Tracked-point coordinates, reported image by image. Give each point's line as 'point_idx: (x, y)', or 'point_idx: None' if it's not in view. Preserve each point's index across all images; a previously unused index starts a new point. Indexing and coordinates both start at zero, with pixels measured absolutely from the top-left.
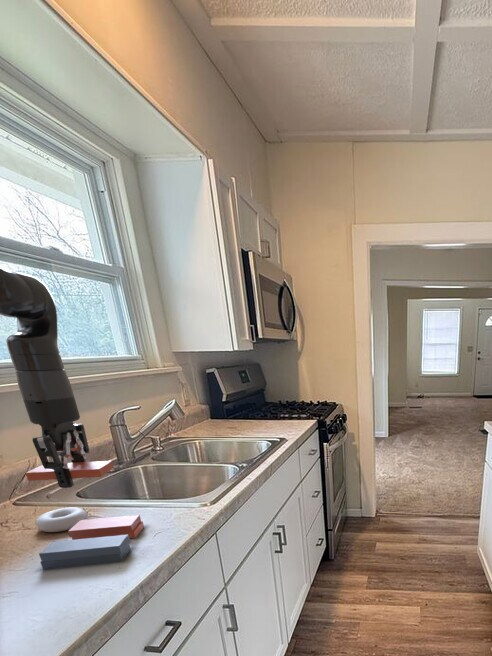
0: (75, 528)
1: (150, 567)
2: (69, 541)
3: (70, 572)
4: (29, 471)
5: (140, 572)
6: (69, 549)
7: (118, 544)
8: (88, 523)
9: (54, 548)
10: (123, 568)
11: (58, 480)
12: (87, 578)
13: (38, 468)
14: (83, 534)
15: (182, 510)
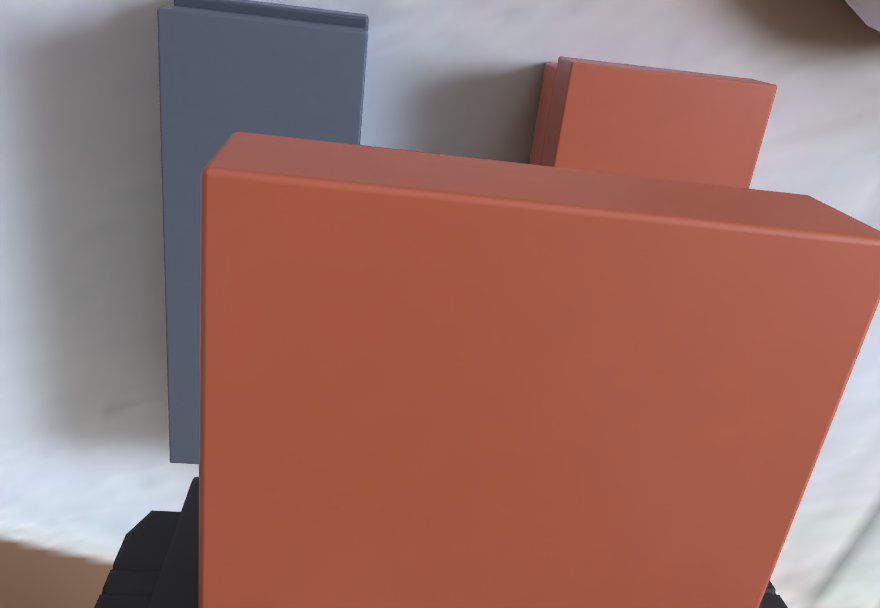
0: (601, 104)
1: (90, 534)
2: None
3: (112, 175)
4: (308, 211)
5: (44, 505)
6: (184, 198)
7: (192, 455)
8: (667, 168)
9: (228, 89)
10: (105, 425)
11: (114, 578)
12: (19, 287)
13: (532, 288)
14: (544, 151)
15: (806, 548)
